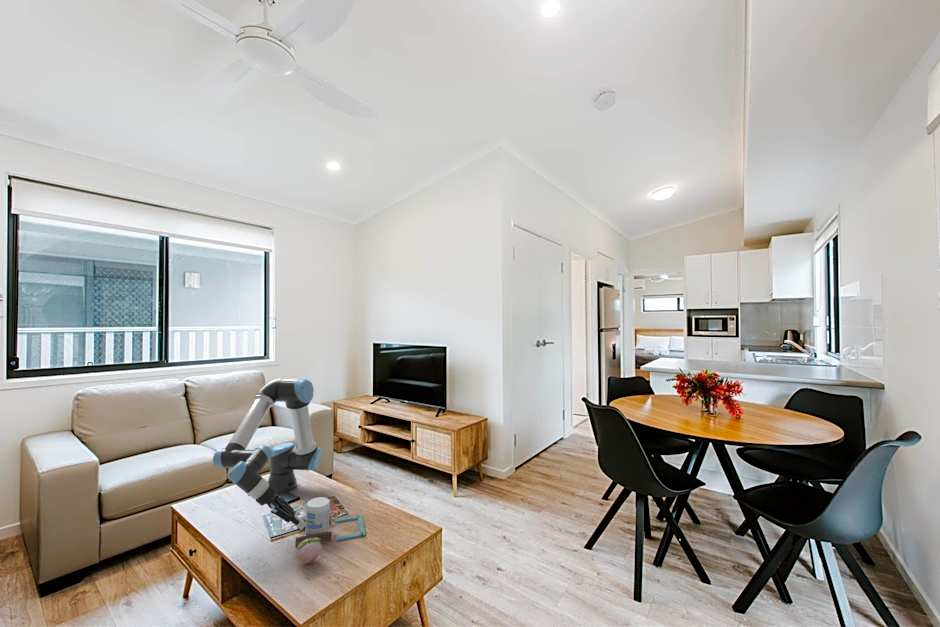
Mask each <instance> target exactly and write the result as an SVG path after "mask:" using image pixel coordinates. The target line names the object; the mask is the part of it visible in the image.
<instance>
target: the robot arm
mask: <svg viewBox="0 0 940 627" xmlns="http://www.w3.org/2000/svg"><path fill="white" fill-rule="evenodd" d="M313 398H314V385H313V383H312V382H311V380H308V379H304V378H286V377H285V378H284V377H282V378H281V377H278V378H275V379H273V380H270V381H269V382H267V383H265V385H263V386H262V387H261V388H260V389H259V390H258V391H257V392H256V394H255V396H254V397H253V401H254V402H253V403H252V405H251V407H250V408H249V410H248V411H247V413H246V415H245V416H244V417H243V419H242V421H241V422H240V424H239V426H238V427H237V429H236V430H235V432H234V433H233V436H232V437H231V439H230V440H229V442H228V443H227V445H226V446H225V448H219V449H218V450H216V451H215V453H214V454H213V458H212V463H213V466H215V467H216V468H223V469H227V468H228V469H229V468H230V470H229V471H228V472H227V478H228V479H229V480H230V481H231V482H232V483H233V484H234V485H236V487H238V488H240V489H241V490H242V491H243V492H244V493H246V494H247V497H251V499H253V500H255V502H256V503H258V504H259V505H260V506H265V505H267V506H268V507H269V509H271V511H270V513H271V514H272V515H273V514H274V515H275V516H276V517H278V518H280V519H282V520H283V521H285V522H286V523H287V524H289V523H292V524H293V525H294V526H295V527H296V528H297V527H298V528H299V529H298V530H301V531H302V530H304V529H305V528H304V527H305V526H306V523H305V522H304V521H303V520H302V519H303V518H301V517H299V515H297V510H295V509H294V508H293V507H292V506H291V504H290V503H288V501H286V500H285V499H284V497H282V495H281V494H282V493H283V494H284V493H288V492H290V491H293V490H294V489H296V487H297V485H298V484H297V478H296V475H295V472H294V471H296V470H298V471H315V470H317V469H318V467H319V466H320V463H321V461H322V457H323V449H322V448H321V447H318V446H317V442H316V441H315V440H314V439H313V433H312V432H313V431H312V426H311V424H312V423H311V420H310V419H311V418H310V412H309V405H310V404H311V401H312V400H313ZM277 402H283V403H285V407H286V408H287V409H288V410H289V413H290V417H291V424H292V431H293V436H294V441H295V442H283V443H280V444H277V445H275V446H273V447H272V448H270V447H269V446H267V445H265V444H261V445H259V446H257V447H255V449H254V450H253V449H247V448H248V446H249V444H250V443H251V440H252V438H253V437H254V435H255V434H256V432H257V430H258V428H259V427H260V425H261V423H262V422H263V420H264V418H265V417H266V414H267V413H268V411H269V409H270V408H273V407H274V405H275V403H277ZM268 463H270V464H269V465H270V466H269V468H270V469H269V470H270V472H269V477H268V480H266V479H265V478H263V476H261V475H260V472H261V471H262V470H263V469H264V468H265V466H266V465H267V464H268Z"/></svg>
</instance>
